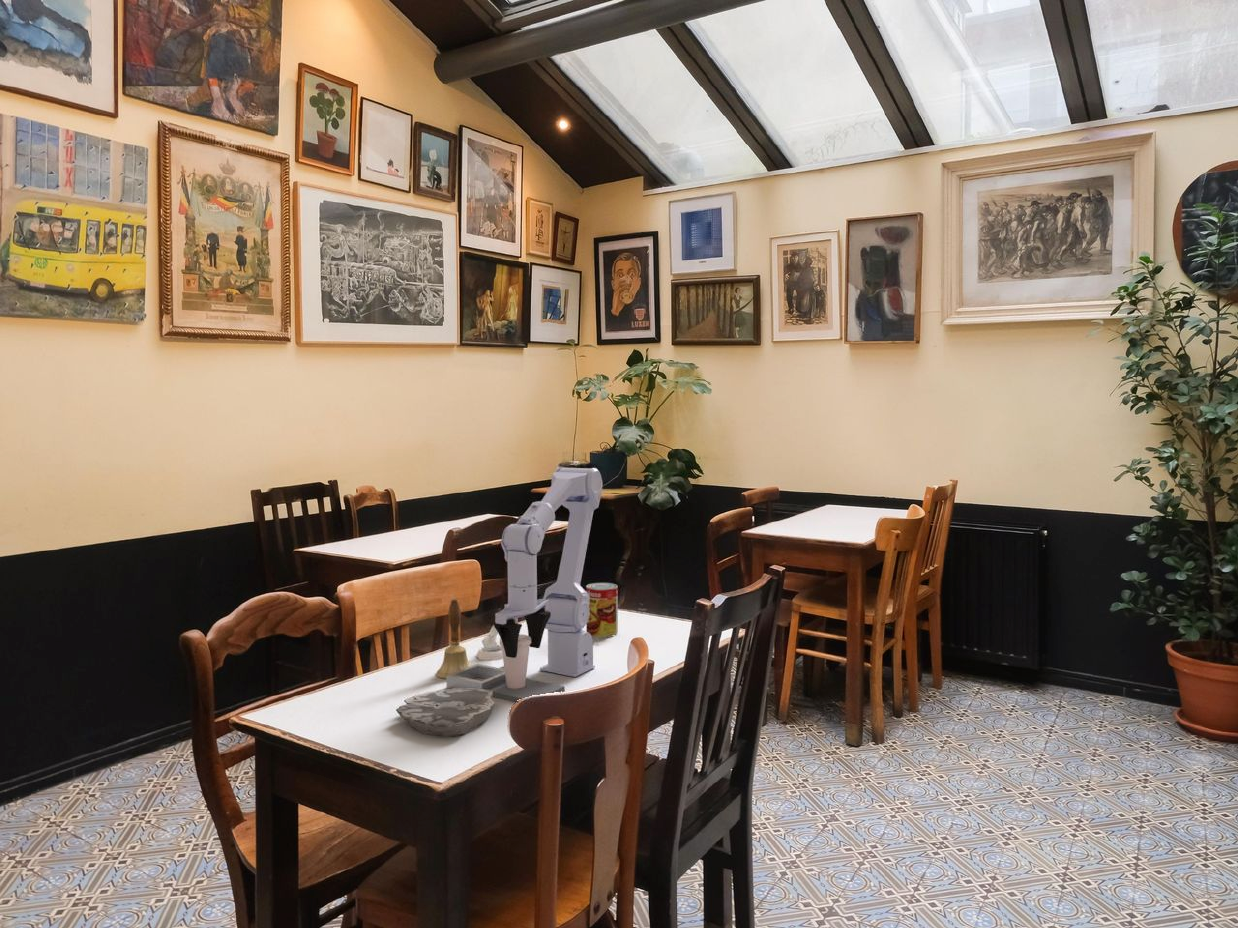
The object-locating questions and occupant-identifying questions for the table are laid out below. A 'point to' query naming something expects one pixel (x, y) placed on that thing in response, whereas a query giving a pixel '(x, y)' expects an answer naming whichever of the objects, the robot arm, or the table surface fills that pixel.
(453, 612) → the hand bell
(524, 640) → the smoothie
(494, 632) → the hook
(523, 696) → the mat
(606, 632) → the canned food
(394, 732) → the table surface
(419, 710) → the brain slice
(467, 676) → the holder
